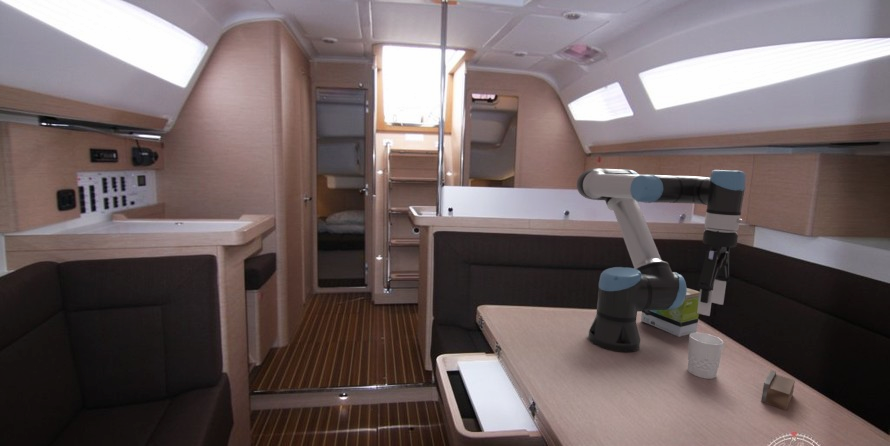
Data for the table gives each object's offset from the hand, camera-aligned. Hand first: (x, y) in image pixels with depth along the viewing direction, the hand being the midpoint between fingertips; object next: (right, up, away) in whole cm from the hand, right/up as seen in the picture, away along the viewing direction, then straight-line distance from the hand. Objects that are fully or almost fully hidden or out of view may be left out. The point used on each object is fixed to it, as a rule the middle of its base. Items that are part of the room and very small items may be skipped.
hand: (710, 308), depth 112 cm
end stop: (+10, -20, -9) cm, 24 cm away
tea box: (+7, -14, +35) cm, 39 cm away
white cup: (-1, -18, +3) cm, 19 cm away
